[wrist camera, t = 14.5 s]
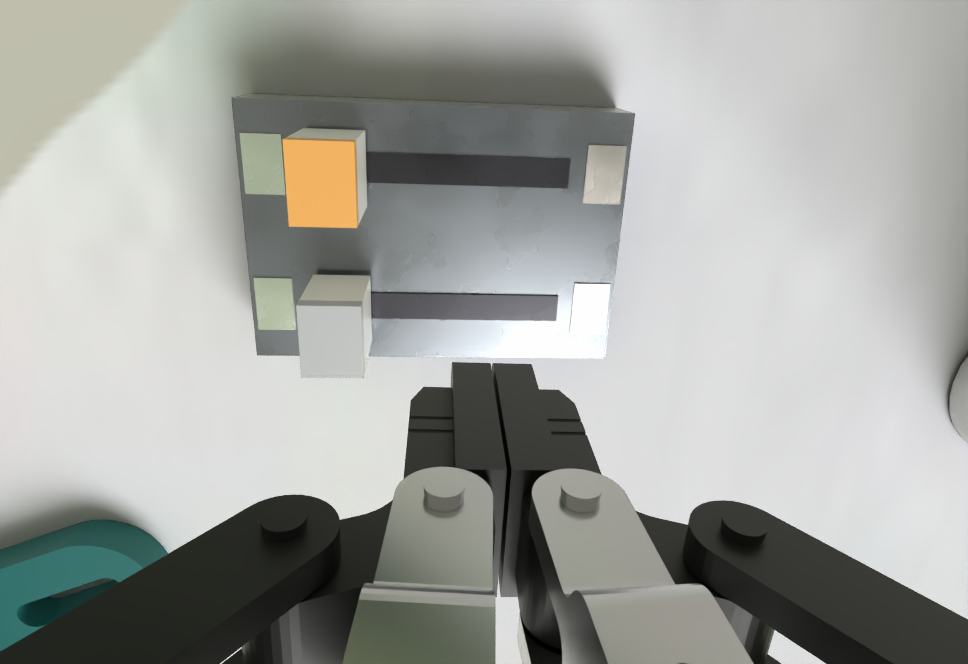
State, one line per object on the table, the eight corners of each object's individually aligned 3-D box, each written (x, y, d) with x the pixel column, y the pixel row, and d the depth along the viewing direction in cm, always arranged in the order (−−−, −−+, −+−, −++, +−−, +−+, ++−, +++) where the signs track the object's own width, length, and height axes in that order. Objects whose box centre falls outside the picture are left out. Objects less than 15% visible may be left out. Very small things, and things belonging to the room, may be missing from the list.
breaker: (370, 275, 28) (361, 306, 25) (372, 339, 29) (363, 377, 26) (313, 274, 28) (296, 305, 25) (317, 339, 29) (301, 377, 26)
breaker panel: (616, 107, 30) (635, 113, 27) (591, 333, 34) (605, 359, 31) (251, 93, 28) (230, 97, 26) (272, 329, 33) (256, 355, 30)
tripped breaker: (365, 130, 26) (354, 141, 23) (367, 206, 27) (356, 228, 24) (303, 127, 26) (282, 139, 22) (307, 204, 27) (288, 226, 24)
